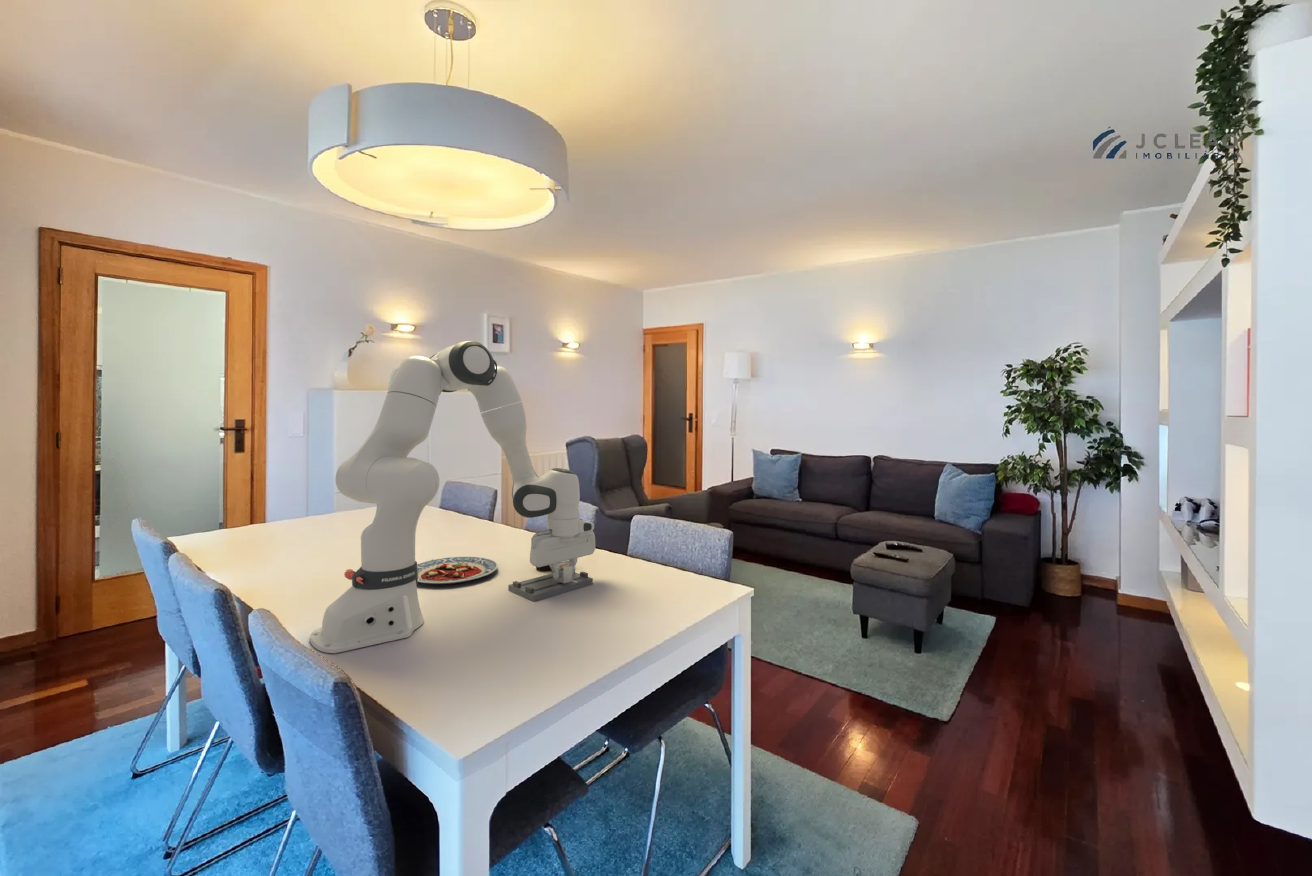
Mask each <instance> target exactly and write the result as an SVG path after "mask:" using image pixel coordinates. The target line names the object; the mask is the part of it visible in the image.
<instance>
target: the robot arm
mask: <svg viewBox="0 0 1312 876" xmlns="http://www.w3.org/2000/svg"><path fill="white" fill-rule="evenodd" d="M390 382H391V383H389V384H390V385H389V388H388V389H387V392H386V396H385V399H384V402H383V405H382V407H381V410H380V413H379V416H378V419H377V421H376V424H375V425H374V427H373V429H372V431H371V432H370V434H369V436H368V437H367V438H366V440H365V441H364V443H362V445H361V446H360V447H359V449H358V450H357V451H356V452H355V453H353V454H352V455H351V456H350V457H349V458H347V459H346V460H344V461H343V462H341V464H340V465H339V466H338V468H337V470H336V474H335V485H336V488H337V490H338V492H340V494H341V495H343V496H345V497H347V498H349V499H352V500H354V501H356V502H359V503H364V504H365V503H368V504H375V505H376V511H375V515H374V518H373V520H372V521H371V522H372V523H371V524H369V525H368V526H367V527H365V528H364V529H363V530H362V532H361V533H360V534H361V535H360V554H361V555H360V561H361V564H360V565H361V566H360V567H359V569H356V571H355V570H354V569H351V568H350V569H346V570H345V572H344V578H346V579H347V580H350V581H351V586H350V588H348V589H347V590H346V591H344V592H343V594H341V595H340V596H339V597H338V598H336V599H335V600H333V602H332V603H330V604H329V605H328V606H327V608H326V609H325V611H324V613H323V617H322V621H321V622H322V623H321V627H320V628H316V629H314V630H313V631H312V632H311V633H310V635H309V636H310V638H309V641H310V644H311V645H312V646H313V647H314V648H315V649H316V650H318V651H320V652H322V653H326V654H339V653H342V652H347V651H348V652H349V651H351V650H355V649H361V648H364V647H365V648H366V647H369V646H374V645H378V644H383V643H387V642H388V643H389V642H392V641H396V640H397V641H398V640H402V639H406V638H410V637H411V636H412V635H413V633H414V631H415V630H417V629H418V628H420V627H421V626H422V625H423V623H424V621H425V618H424V616H423V614H422V610H421V606H420V601H419V595H418V588H417V585H418V584H419V582H418V568H417V564H418V562H417V561H416V532H417V526H418V522H419V519H420V517H421V515H422V512H423V511H424V509H425V507H426V506H427V505H428V504H429V503H430V502H431V501H432V500H433V499H434V498H435V497H436V495H437V494H438V491H439V489H440V475H439V472H438V470H437V469H436V467H435V466H434V465H433V464H431V463H429V462H427V461H425V460H422V459H419V458H416V457H409V456H408V455H409V454H410V453H411V452H412V451H413V449H415V448H416V447H417V446H419V445H420V444H422V443H424V442H425V441H426V439H427V438H428V436H429V434H430V431H431V426H432V423H433V420H434V418H435V417H434V416H435V413H436V409H437V405H438V402H439V398H440V396H441V393H453V392H457V391H460V390H468V391H469V392H470V393H471V394H472V395H473V396H474V398H475V399H476V402H477V406H478V410H479V412H480V415H481V418H482V421H483V423H484V426H485V428H486V429H487V431H488V433H489V435H490V437H491V438H492V439H493V440H494V441H495V442H496V443H497V444H498V445H499V447H500V448H501V449H502V451H503V453H504V455H505V458H506V461H507V464H508V467H509V470H510V473H511V477H512V483H513V484H512V488H511V489H512V491H511V497H512V503H513V504H512V505H513V508H514V510H515V512H516V513H517V514H519V516H521V517H524V518H529V519H533V518H537V517H543V516H547V518H546V519H547V524H546V525H547V529H546V530H542V531H541V530H540V531H539V530H538V531H536V532H535V534H533V535H532V537H531V540H530V541H531V542H530V543H531V544H530V553H529V563H530V565H531V566H533V567H535V568H536V567H542V566H547V565H549V566H550V568H551V569H552V571H551V572H552V573H553V577H554V578H556V579H557V578H560V577H561V571H558V569H557V566H558V563H559V562H563V561H567V560H569V561H570V563H569V565H572V574H574V569H575V568H576V565H577V564H578V558H583V557H585V556H586V557H587V556H590V555H593V554H594V552H595V551H596V536H595V533H594V531H593V530H594V529H595V523H594V522H591V521H588V520H584V519H581V517H580V516H581V515H580V511H579V504H580V502H581V501H580V499H581V497H580V495H581V494H580V493H581V492H580V482H579V481H580V480H579V477H578V475H577V474H576V472H574V471H572V470H569V469H567V468H560V467H559V468H557V467H554V468H551V469H550V470H548V471H547V472H546V473H544V474H542V475H540V476H538V475H537V473H536V472H535V469H534V466H533V463H532V460H531V457H530V454H529V451H528V447H527V440H526V438H527V437H526V435H527V419H526V412H525V408H524V405H523V401H522V399H521V395H520V392H519V390H518V387H517V386H516V383H515V381H514V379H513V378H512V376H511V373H510V372H509V371H508V369H506V368H505V367H504V366H501V365H498V364H497V361H496V360H495V359H494V357H493V356H492V354H491V352H490V350H488V348H487V347H486V346H485V345H484V344H483V343H481V342H478V341H473V340H465V341H460V342H457V343H456V344H453V345H450V346H447V347H445V348H443V349H442V350H441V349H440V351H438V352H436V353H434V354H433V355H431V357H426V356H422V355H411V356H408V357H406V358H404V359H403V360H402V362H401V363H400V364H399V366H398V368H397V370H396V372H395V374H394V376H393V378H392V380H391V381H390Z"/></svg>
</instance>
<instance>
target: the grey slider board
mask: <svg viewBox="0 0 1312 876" xmlns="http://www.w3.org/2000/svg"><path fill="white" fill-rule="evenodd" d="M560 563H567V564H569V563H570V561H569V560H567V561H563V562H559V563H558V564H560ZM593 584H594V579H593V578H592V577H590V576H589V572H586V571H583V570H582V571H579V573H578V572H576V569H575V568H574V574H572V581H571V582H567V583H564V584H563V583H561V582H558V581H555V578H554V577H553V572H552V573H548V574H546V575H545V574H544V575H540V576H537V577H533V578H530V579H525V580H521V581H518V580H515V581H512V583H511V584H508V585H507V586H508V589H507V590H508V591H509V592H511V593H513V594H516V595H518V596H520V597H522V598H524V599H527V600H529V601H532V602H536V601H539V600H540V601H541V600H544V599H547V598H550V597H554V596H557V595H561V594H564V593H567V592H570V591H571V592H572V591H573V590H577V589H582V588H583V587H584V588H585V587H587V586H592V585H593Z"/></svg>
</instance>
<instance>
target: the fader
mask: <svg viewBox="0 0 1312 876" xmlns="http://www.w3.org/2000/svg"><path fill="white" fill-rule="evenodd" d="M557 569H558V571H561V577H560V578H557V579H556V578H555V581H558V582H561V583H563V584H564V583H567V582H571V581H572V565H569V564H567V563H560V564H558V566H557Z"/></svg>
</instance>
